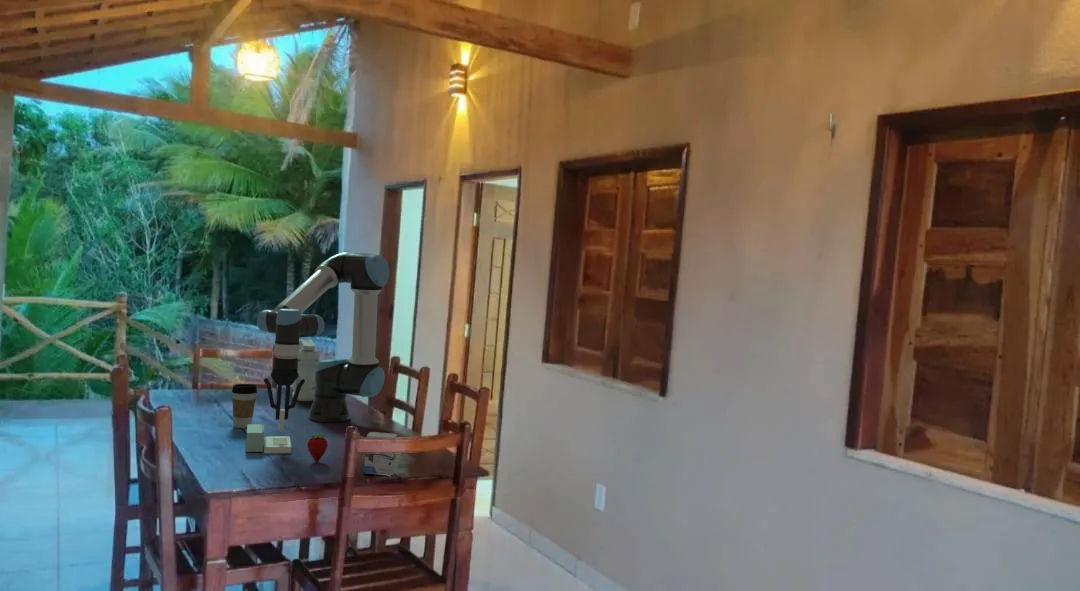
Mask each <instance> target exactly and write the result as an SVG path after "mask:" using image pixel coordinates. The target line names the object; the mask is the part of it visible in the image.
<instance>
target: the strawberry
mask: <svg viewBox="0 0 1080 591" xmlns="http://www.w3.org/2000/svg"><path fill="white" fill-rule="evenodd" d="M315 431H316V432H317V434H316V435H309V439H308V440H307V449H308V452H309V454H310V456H311V457H312V459H313V461H314V462H316V463H319V461H320V460H321V459H322V458H323V456H324V455H325V453H326V452H327V448H328V440H327V439H326V436H327V435H325V434H324V435H323V434H322V435H320V434H319V432H318V430H317V429H315Z"/></svg>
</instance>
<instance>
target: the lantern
mask: <svg viewBox="0 0 1080 591" xmlns="http://www.w3.org/2000/svg"><path fill="white" fill-rule="evenodd" d="M320 355H321V350H320V349H316V345H315V343H314V341H313V339H309V338H308V339H307V338H304V339H303V338H300V339H299V355H298V356H297V358H298V368H297V372H298V374H299V376H300V377H301V378H304V379H305V382H304V384H303V385H302V386H301V389H300V392H299V395H298V398H297V401H299V402H310V401H312V402H313V401H314V398H315V384H316V369H317V363H318V362H319V361H320ZM297 384H298V383H297V379H296V380H295V381H294V383H293V384H292V389H293V392H291V394H292V395H291V396H292V397H291V398H293V396H294V393H295V390H296V387H297Z"/></svg>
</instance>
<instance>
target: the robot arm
mask: <svg viewBox="0 0 1080 591" xmlns="http://www.w3.org/2000/svg"><path fill="white" fill-rule="evenodd" d="M389 279H390V267H389V264H388V261H387V260H386V259H385V257H383V256H382V255H380V254H375V253H368V252H367V253H365V252H351V251H346V252H345V251H344V252H340V253H337V254H334V255H333V256H331V257H328V259H326V260H324V261H323V262H321V263H320V264H319V265H318V266H317V267H316V268H315V269H314V272H313V274H311V276H309V277H308V278H307V279H306V280H305V281H304V282H303V283H301V284H300V285H299V286H298V287H297V288H296V289H294V291H292V292H291V293H290V294H289V295H288V296H287V297H286V298H284V300H282V301H281V302H280V303H279V304H278V305H277V306H275V307H274V309H272V310H271V309H264V310H261V311H260V312H259V313H258V315H257V317H256V325H257V327H258V329H259V331H261V332H264V333H269V334H275V338H274V346H273V347H274V349H273V355H274V357H273V364H272V371H271V373H270V375H268V376H266V377H264V378H263V382H264V384H265V385H266V389H267V393H268V399H269V405H270V408H272V409H274V410H275V420H276V421H277V420H278V427H277V428H278V431H284V427H285V421H286V420H288V419H289V410H290V409H295V407H296V404H297V401H298V400H297V398H298V395H299V392H300V389H301V386H302V385H303V384H304V382H305V379H304V378H301V377H300V376H299V374H298V372H297V368H298V358H297V356H298V355H299V348H300V346H299V341H300V339H302V338H315V337H318V336H320V335H321V334H322V333H323V332H324V330H325V327H326V326H325V321H324V319H323V317H322V316H320V315H319V314H314V313H310V314H304V312H305V311H306V310H307V309H308V308H309V307H310V306H311V305H313V304H314V303H315V301H317V300H318V299H319V298H320V297H321V296H322V295H323V294H324V293H326V292H327V291H328V290H329V289H332V288H335V287H336V286H337V285H338V284H342V283H343V284H344V283H346V284H350V290H351V291H352V292H353V293H354V294H353V295H354V296H353V298H354V299H353V300H354V303H353V324H352V325H353V326H352V347H351V348H352V350H351V352H352V353H351V357H350V358H349V359H348V358H328V359H321V360H319V362H318V363H317V365H316V366H317V369H316V383H315V398H314V400H312V404H311V406H310V408H309V411H308V419H309V420H310V421H313V422H320V423H340V422H346V421H348V420H349V419H350V411H349V407H348V403H347V395H351V396H358V397H362V398H372V397H373V398H374V397H375V396H377V395H379V393H380V392H381V390H382V388H383V386H384V383H385V379H386V376H385V374H386V372H385V370H384V369H383V368H382V367H380V360H379V359H378V358H377V357H376V349H377V347H376V346H377V324H378V323H377V322H378V303H379V302H378V301H379V299H378V298H379V296H378V295H379V294H380V293H381V292H382V291H383V287H384V286H386V285H387V284H388V282H389V281H388V280H389ZM296 379H297V383H298V384H297V387H296V390H295V393H294V396H293V397H292V399H291V402H290V396H291V386H293V383H294V381H295V382H296ZM272 380H273V381H274V383H275V384H276V385H277V394H276V403H275V400H274V395H273V389H272V384H271V383H273V382H272ZM283 386H285V396H284V408H281V406H282V405H281V404H282V392H283V391H282V389H283Z"/></svg>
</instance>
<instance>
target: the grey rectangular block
mask: <svg viewBox="0 0 1080 591" xmlns="http://www.w3.org/2000/svg"><path fill="white" fill-rule="evenodd" d="M264 435H265V424H264V423H262V424H261V423H260V424H259V423H258V424H257V423H256V424H253V423H252V424H247V428H246V441H245V452H246V453H254V452H255V453H259V452H261V453H264Z"/></svg>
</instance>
